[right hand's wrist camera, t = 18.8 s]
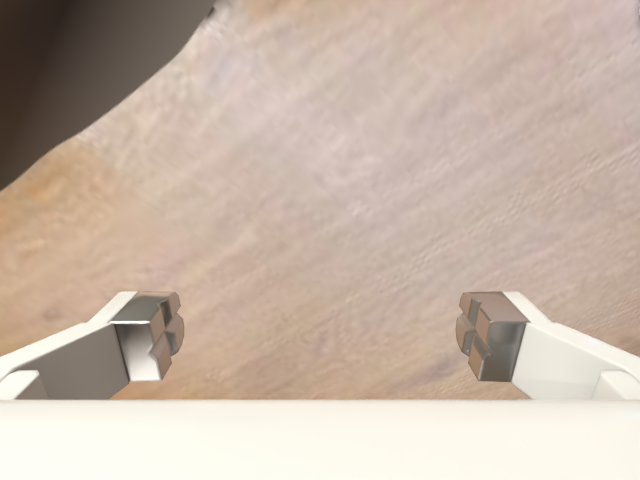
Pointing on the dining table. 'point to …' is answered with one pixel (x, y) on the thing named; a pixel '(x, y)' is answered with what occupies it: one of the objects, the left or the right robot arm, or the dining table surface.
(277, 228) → the dining table surface
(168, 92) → the dining table surface
